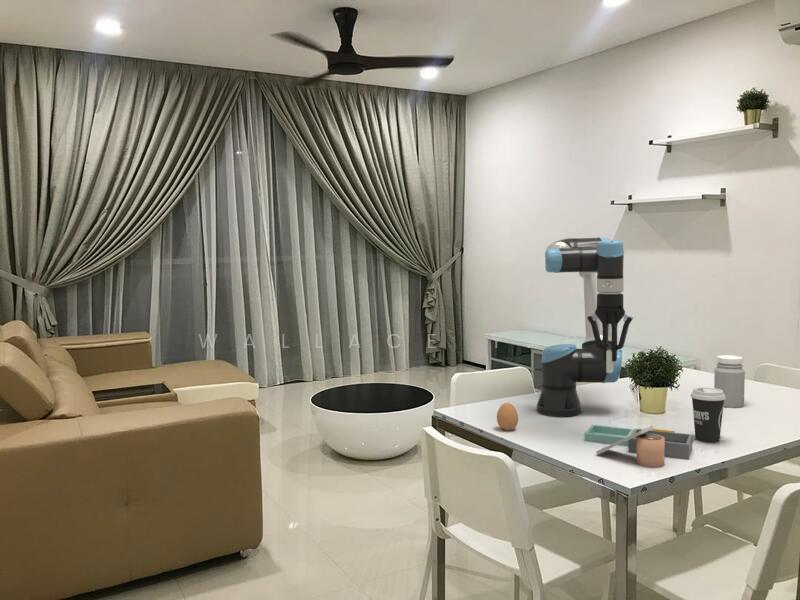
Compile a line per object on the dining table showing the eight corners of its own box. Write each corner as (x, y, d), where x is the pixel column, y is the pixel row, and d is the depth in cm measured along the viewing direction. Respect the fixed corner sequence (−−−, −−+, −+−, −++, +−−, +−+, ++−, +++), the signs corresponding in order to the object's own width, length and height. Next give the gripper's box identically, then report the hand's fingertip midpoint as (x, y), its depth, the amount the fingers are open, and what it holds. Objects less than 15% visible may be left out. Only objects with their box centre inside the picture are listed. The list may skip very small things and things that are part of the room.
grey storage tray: (628, 452, 187) (628, 436, 187) (635, 441, 197) (635, 426, 196) (688, 459, 180) (689, 442, 179) (692, 448, 189) (692, 432, 189)
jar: (750, 408, 233) (751, 357, 232) (729, 411, 230) (730, 360, 229) (727, 402, 243) (728, 354, 241) (707, 405, 239) (708, 356, 238)
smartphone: (609, 448, 189) (607, 445, 190) (654, 428, 179) (652, 425, 180) (596, 454, 184) (595, 451, 185) (642, 434, 174) (640, 430, 175)
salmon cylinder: (634, 465, 176) (634, 438, 175) (638, 457, 182) (638, 432, 181) (662, 468, 172) (662, 441, 172) (666, 460, 179) (666, 435, 178)
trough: (584, 441, 198) (584, 433, 198) (592, 432, 207) (592, 424, 207) (628, 446, 192) (628, 438, 192) (634, 437, 201) (634, 429, 201)
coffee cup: (695, 433, 204) (695, 385, 202) (728, 438, 198) (729, 389, 196) (685, 441, 196) (686, 391, 195) (720, 446, 190) (721, 395, 189)
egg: (492, 430, 212) (492, 402, 211) (506, 426, 216) (506, 399, 216) (508, 434, 207) (508, 406, 206) (522, 430, 211) (522, 402, 211)
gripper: (584, 293, 196) (584, 372, 198) (630, 294, 190) (630, 375, 192) (590, 291, 203) (590, 368, 204) (635, 292, 197) (634, 371, 198)
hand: (609, 371), depth 198 cm, fingers closed
